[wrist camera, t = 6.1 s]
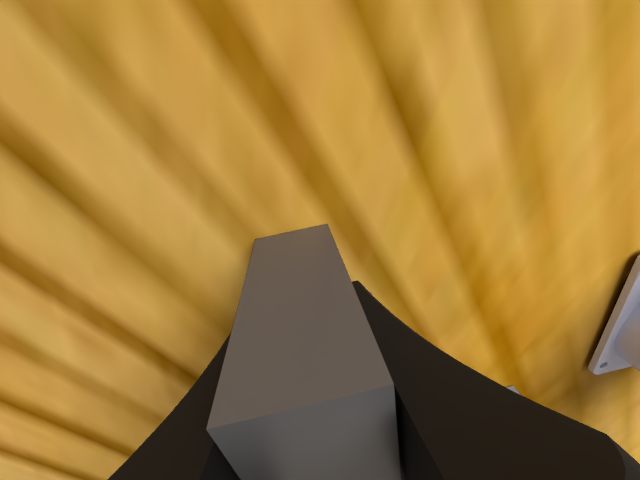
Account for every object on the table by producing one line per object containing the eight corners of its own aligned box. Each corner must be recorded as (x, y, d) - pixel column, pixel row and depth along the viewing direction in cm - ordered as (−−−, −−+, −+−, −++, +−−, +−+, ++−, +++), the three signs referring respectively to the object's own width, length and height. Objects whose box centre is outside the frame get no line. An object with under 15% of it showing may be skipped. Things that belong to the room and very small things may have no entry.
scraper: (218, 247, 10) (108, 452, 4) (362, 216, 10) (484, 362, 4) (314, 482, 19) (329, 656, 13) (389, 463, 20) (439, 626, 13)
